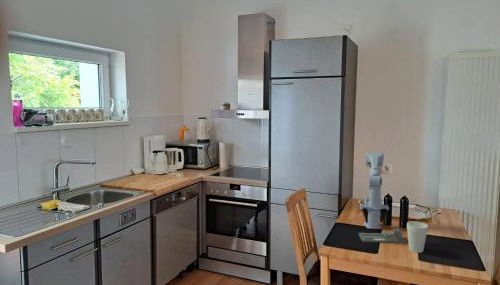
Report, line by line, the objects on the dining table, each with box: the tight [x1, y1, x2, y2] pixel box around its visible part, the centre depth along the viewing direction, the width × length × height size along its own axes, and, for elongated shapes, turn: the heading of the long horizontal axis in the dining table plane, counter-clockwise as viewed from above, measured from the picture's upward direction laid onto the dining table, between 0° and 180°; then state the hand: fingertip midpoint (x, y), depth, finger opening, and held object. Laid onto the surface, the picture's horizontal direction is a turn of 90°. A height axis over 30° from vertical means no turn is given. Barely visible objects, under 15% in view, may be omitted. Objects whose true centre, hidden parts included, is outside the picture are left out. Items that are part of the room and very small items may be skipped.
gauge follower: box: [381, 230, 391, 237], centre depth 184 cm, size 6×3×2 cm, turn 175°
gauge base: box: [358, 228, 407, 244], centre depth 186 cm, size 10×22×4 cm, turn 85°
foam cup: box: [406, 220, 429, 254], centre depth 171 cm, size 10×9×13 cm
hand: (373, 222), depth 186 cm, fingers open, 7 cm apart
